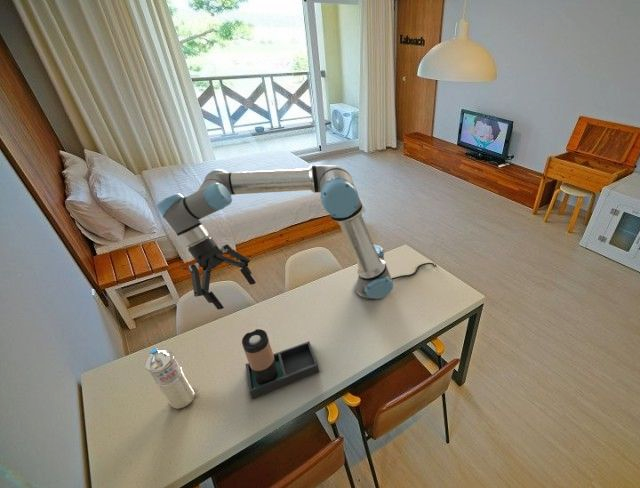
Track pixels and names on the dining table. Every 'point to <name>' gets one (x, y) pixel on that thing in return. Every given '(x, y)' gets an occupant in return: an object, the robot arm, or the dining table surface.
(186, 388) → the water bottle
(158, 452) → the dining table surface
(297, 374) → the divided organizer tray
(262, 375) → the travel mug
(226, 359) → the dining table surface
